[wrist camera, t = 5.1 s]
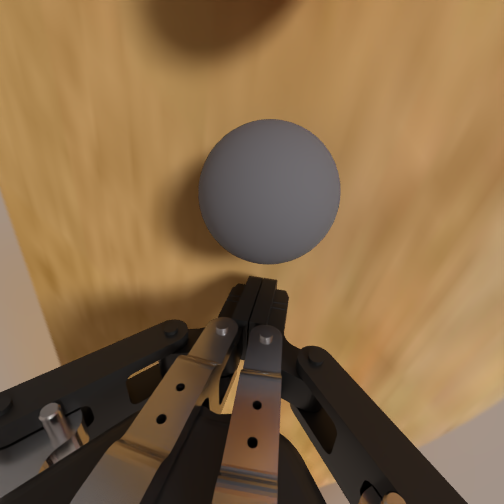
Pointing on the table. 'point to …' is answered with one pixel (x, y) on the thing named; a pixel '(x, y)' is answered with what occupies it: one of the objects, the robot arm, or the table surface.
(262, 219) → the gray ball
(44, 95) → the table surface
